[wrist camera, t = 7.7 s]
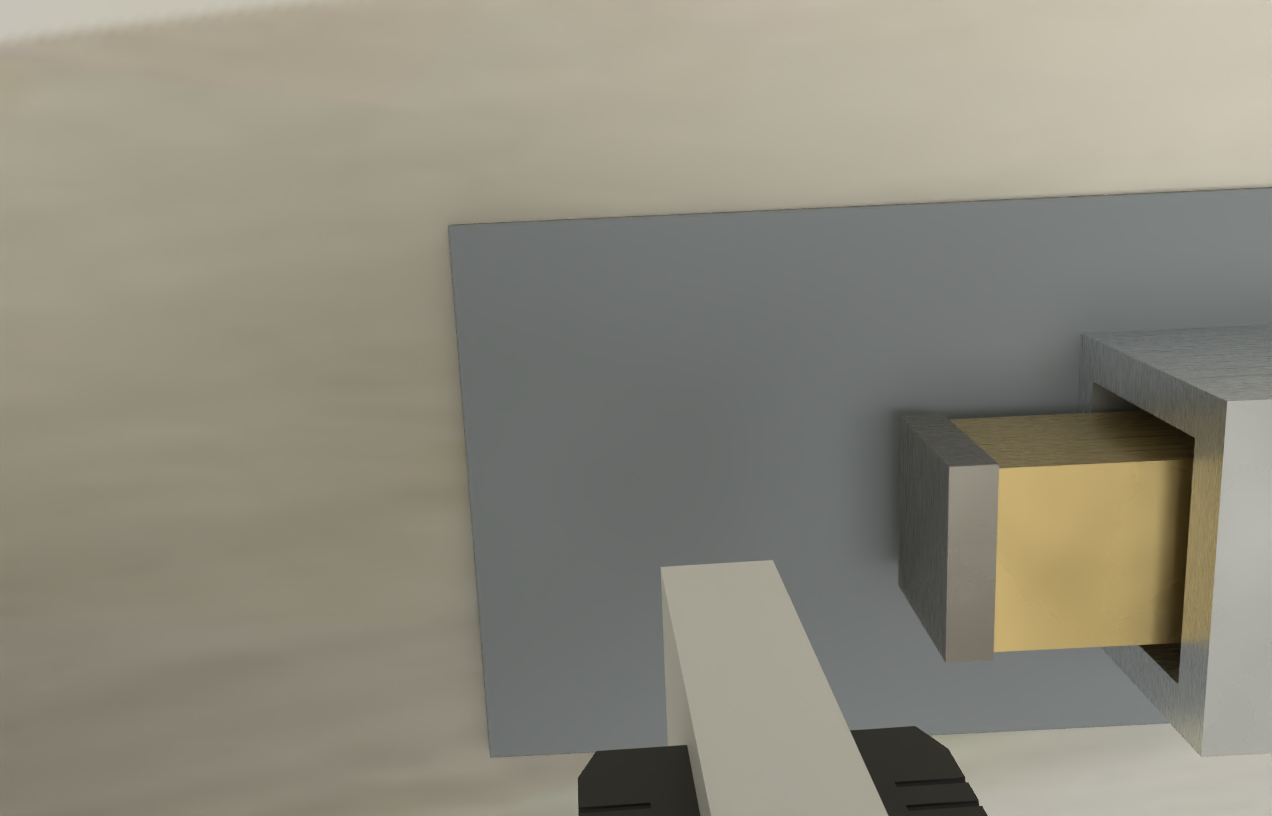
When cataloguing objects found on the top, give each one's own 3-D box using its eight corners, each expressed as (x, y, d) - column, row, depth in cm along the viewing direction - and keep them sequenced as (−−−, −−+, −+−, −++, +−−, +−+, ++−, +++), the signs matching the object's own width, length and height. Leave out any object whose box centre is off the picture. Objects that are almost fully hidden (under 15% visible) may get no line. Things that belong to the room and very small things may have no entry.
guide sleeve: (1063, 607, 25) (1201, 756, 19) (1074, 330, 24) (1227, 401, 18) (1303, 595, 25) (1513, 741, 19) (1329, 319, 24) (1563, 385, 18)
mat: (491, 750, 26) (490, 757, 25) (450, 224, 23) (448, 226, 23) (1851, 682, 26) (1865, 688, 26) (1961, 156, 23) (1978, 156, 23)
